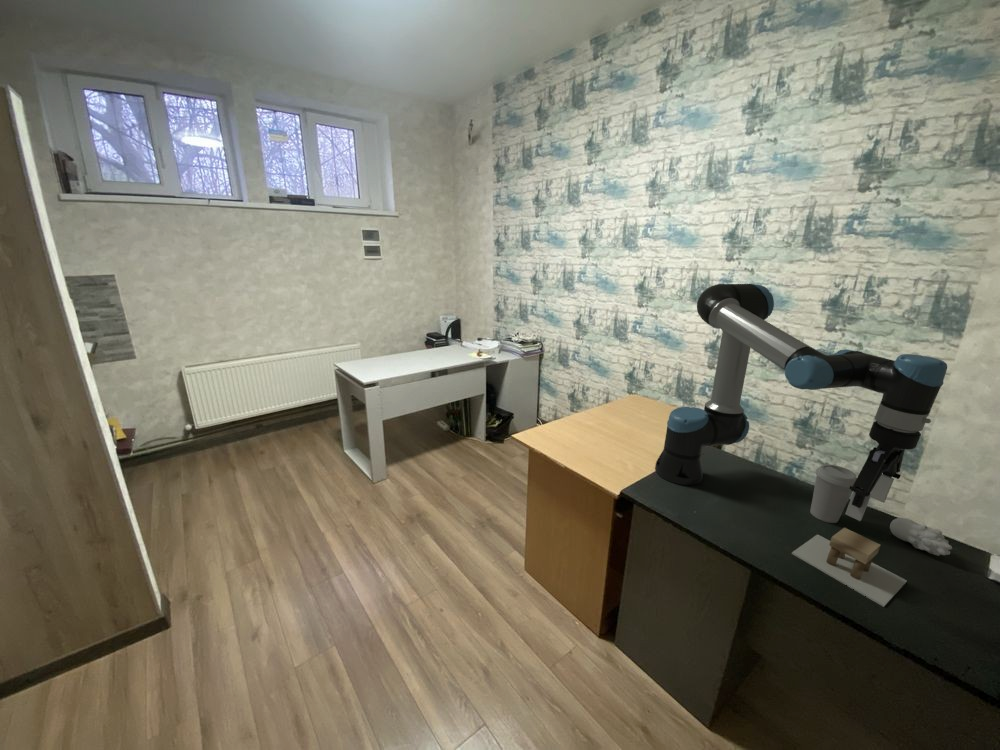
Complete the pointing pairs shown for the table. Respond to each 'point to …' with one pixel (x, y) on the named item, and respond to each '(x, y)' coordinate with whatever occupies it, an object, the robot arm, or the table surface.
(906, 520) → the figurine
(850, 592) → the table surface
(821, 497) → the coffee cup
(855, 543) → the wooden stool
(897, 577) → the mat
